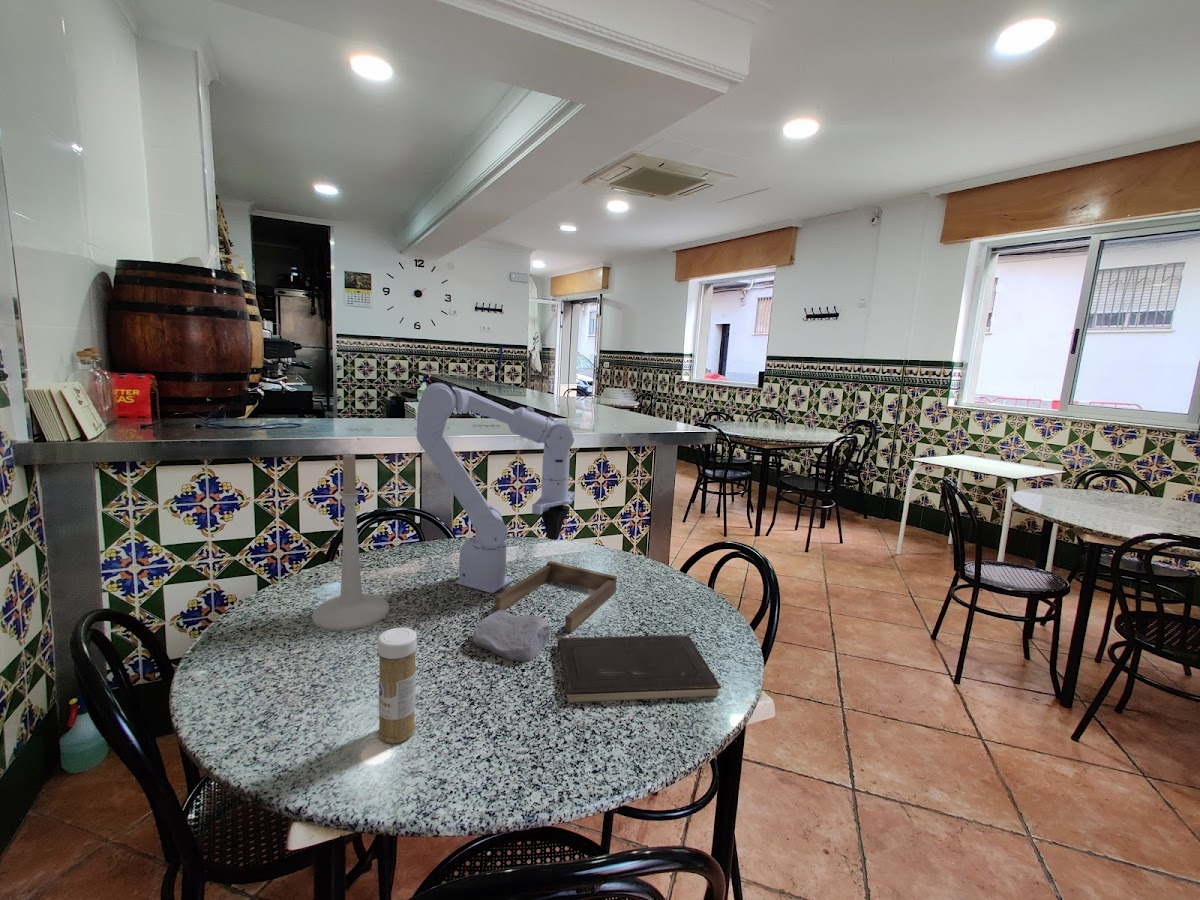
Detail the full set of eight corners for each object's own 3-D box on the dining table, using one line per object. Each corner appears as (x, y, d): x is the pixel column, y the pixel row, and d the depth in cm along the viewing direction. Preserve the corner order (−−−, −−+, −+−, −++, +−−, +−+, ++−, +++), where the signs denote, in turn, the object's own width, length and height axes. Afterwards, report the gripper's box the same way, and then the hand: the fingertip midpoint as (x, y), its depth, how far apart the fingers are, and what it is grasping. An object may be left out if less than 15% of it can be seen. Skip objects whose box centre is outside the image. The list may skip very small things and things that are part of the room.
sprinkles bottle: (371, 733, 69) (370, 634, 67) (404, 716, 72) (404, 622, 70) (390, 750, 66) (389, 648, 64) (423, 732, 69) (424, 635, 67)
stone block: (531, 675, 87) (554, 635, 96) (528, 651, 85) (552, 612, 94) (465, 662, 90) (494, 624, 99) (462, 638, 89) (491, 602, 98)
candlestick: (388, 625, 96) (387, 459, 91) (307, 634, 92) (301, 459, 87) (389, 595, 108) (388, 446, 103) (317, 601, 103) (313, 446, 99)
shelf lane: (494, 611, 104) (495, 594, 103) (548, 575, 122) (549, 560, 122) (570, 633, 97) (571, 615, 96) (615, 591, 116) (616, 576, 115)
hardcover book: (719, 700, 81) (721, 686, 81) (566, 707, 77) (567, 692, 77) (686, 645, 96) (687, 633, 96) (557, 648, 93) (558, 636, 92)
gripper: (554, 486, 108) (551, 551, 110) (587, 475, 121) (584, 533, 123) (524, 481, 111) (522, 545, 113) (560, 470, 124) (557, 527, 126)
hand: (552, 538), depth 119 cm, fingers closed
